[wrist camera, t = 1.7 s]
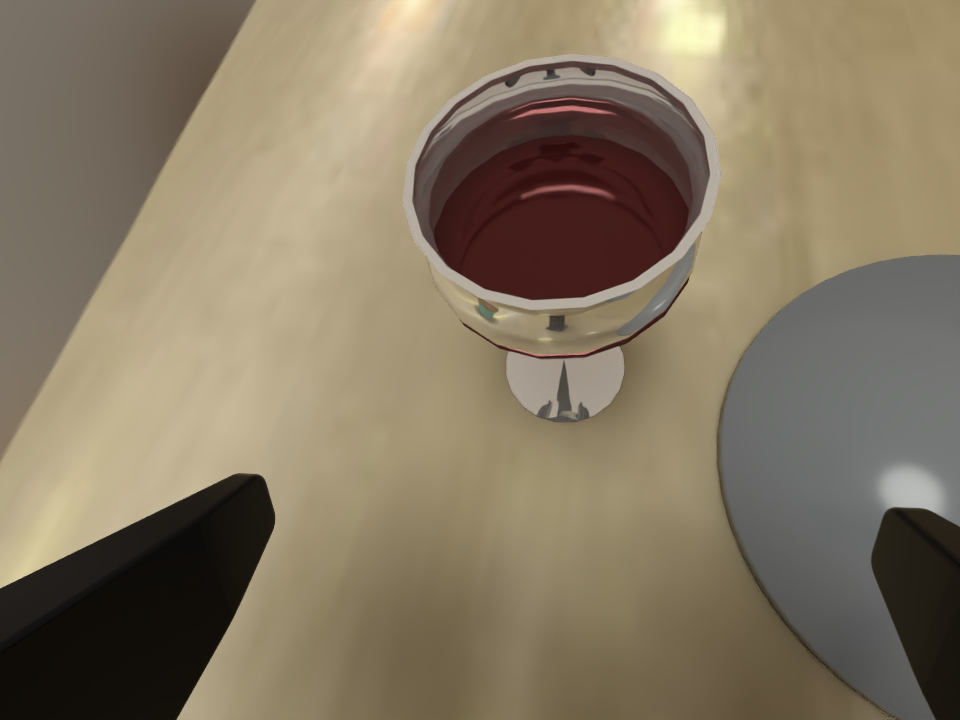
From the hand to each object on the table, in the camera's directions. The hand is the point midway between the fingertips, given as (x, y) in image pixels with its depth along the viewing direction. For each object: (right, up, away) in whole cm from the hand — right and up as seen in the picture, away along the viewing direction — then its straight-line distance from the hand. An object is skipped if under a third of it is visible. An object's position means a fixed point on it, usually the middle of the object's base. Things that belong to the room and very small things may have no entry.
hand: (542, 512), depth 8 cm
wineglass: (+3, +2, +15) cm, 15 cm away
